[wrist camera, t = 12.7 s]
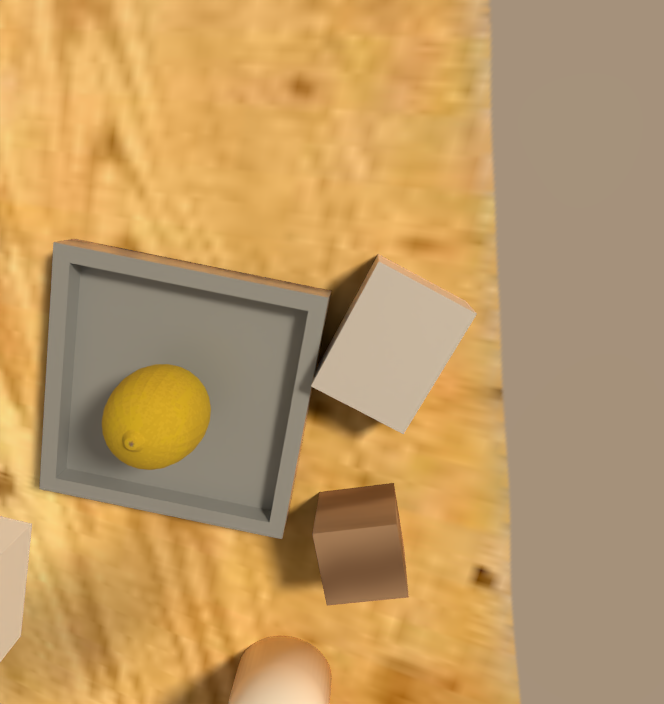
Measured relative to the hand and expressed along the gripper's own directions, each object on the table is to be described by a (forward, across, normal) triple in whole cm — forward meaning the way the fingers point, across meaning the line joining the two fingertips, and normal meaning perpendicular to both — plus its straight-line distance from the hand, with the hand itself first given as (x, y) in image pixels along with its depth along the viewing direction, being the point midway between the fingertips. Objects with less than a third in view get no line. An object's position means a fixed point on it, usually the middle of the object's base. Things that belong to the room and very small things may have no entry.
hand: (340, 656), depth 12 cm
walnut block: (+25, +3, -12) cm, 28 cm away
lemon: (+24, -10, -6) cm, 27 cm away
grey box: (+26, +2, +1) cm, 26 cm away
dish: (+25, -10, -6) cm, 28 cm away
